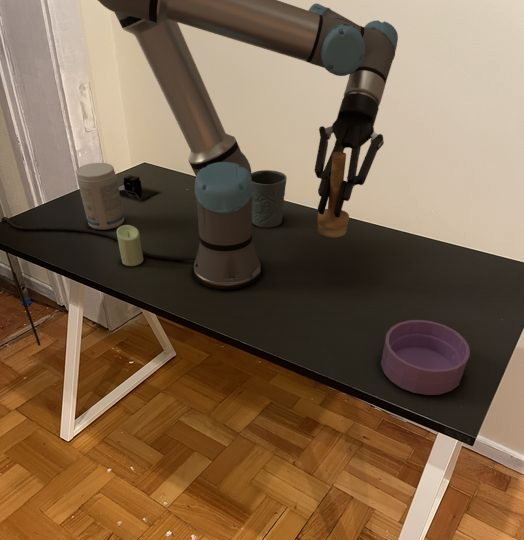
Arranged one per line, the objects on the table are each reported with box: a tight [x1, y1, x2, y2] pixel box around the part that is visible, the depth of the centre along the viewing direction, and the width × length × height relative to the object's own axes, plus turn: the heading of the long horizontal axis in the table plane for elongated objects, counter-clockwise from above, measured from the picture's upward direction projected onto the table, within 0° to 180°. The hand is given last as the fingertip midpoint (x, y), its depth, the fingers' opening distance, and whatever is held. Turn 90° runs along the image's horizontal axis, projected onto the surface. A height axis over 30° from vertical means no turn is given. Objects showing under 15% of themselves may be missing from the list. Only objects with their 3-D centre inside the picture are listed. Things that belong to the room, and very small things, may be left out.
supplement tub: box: [75, 162, 125, 231], centre depth 135 cm, size 10×10×15 cm
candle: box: [116, 224, 144, 267], centre depth 121 cm, size 5×5×8 cm
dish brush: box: [317, 151, 350, 238], centre depth 104 cm, size 6×6×16 cm
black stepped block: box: [118, 174, 158, 202], centre depth 154 cm, size 12×7×5 cm, turn 60°
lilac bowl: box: [380, 319, 471, 396], centre depth 92 cm, size 14×14×6 cm
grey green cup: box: [251, 169, 287, 228], centre depth 137 cm, size 10×10×12 cm
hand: (328, 212), depth 103 cm, fingers closed on dish brush, 3 cm apart
